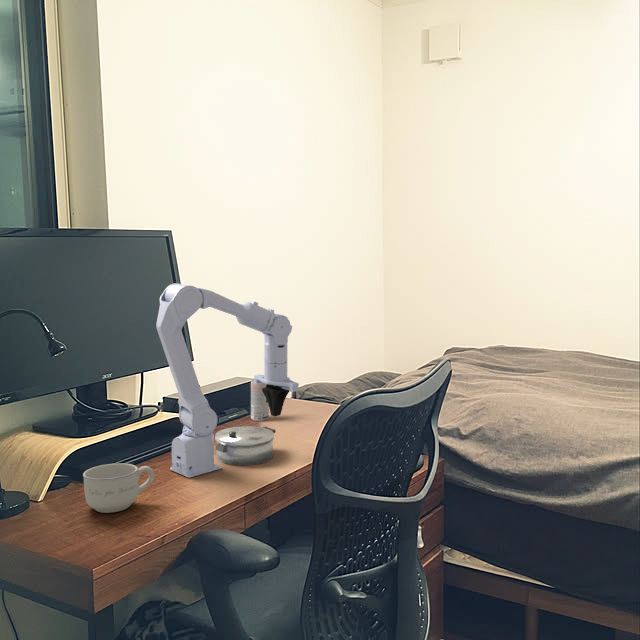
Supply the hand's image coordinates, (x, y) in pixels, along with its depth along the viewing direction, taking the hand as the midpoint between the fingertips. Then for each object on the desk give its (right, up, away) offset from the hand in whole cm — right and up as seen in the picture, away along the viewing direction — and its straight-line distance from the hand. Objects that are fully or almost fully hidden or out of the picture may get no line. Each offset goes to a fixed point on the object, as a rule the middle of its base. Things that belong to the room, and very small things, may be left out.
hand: (275, 415), depth 175 cm
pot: (-8, -10, +1) cm, 13 cm away
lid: (-7, -6, 0) cm, 9 cm away
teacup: (-30, -14, -32) cm, 46 cm away
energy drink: (-7, -6, +36) cm, 38 cm away
